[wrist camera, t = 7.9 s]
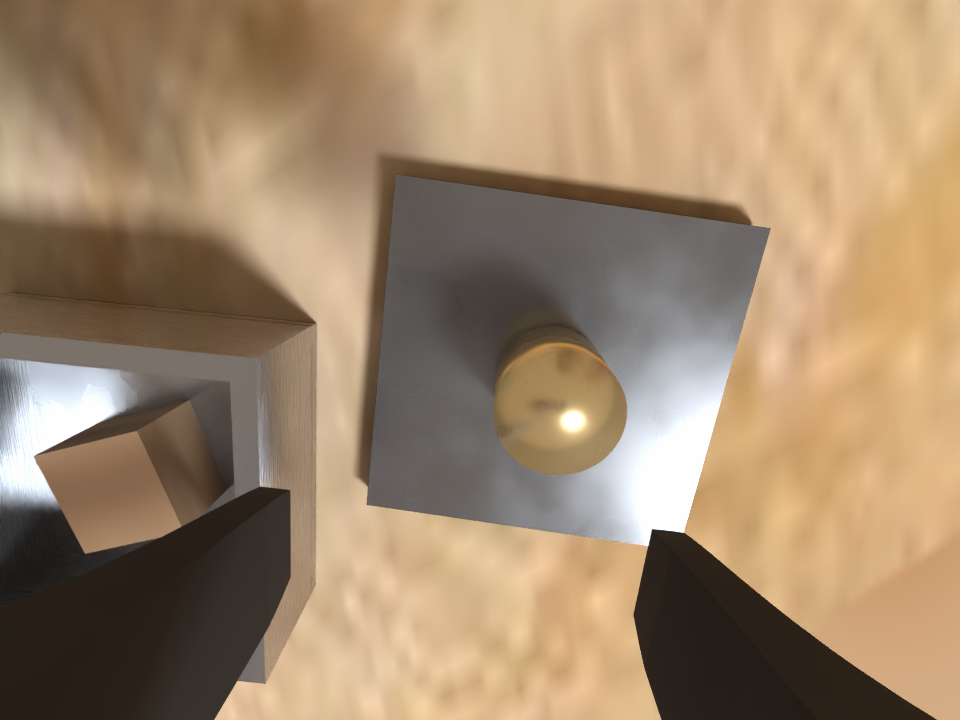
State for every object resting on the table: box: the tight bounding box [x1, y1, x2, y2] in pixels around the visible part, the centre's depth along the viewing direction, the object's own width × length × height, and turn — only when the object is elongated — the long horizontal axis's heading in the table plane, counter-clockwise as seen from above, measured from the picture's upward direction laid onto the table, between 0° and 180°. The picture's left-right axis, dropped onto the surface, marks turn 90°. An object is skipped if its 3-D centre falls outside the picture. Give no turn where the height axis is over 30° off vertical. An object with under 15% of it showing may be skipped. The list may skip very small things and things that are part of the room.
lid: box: [367, 174, 770, 546], centre depth 18 cm, size 13×13×5 cm
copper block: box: [33, 400, 228, 554], centre depth 19 cm, size 4×4×3 cm
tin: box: [0, 293, 316, 684], centre depth 19 cm, size 12×12×5 cm
